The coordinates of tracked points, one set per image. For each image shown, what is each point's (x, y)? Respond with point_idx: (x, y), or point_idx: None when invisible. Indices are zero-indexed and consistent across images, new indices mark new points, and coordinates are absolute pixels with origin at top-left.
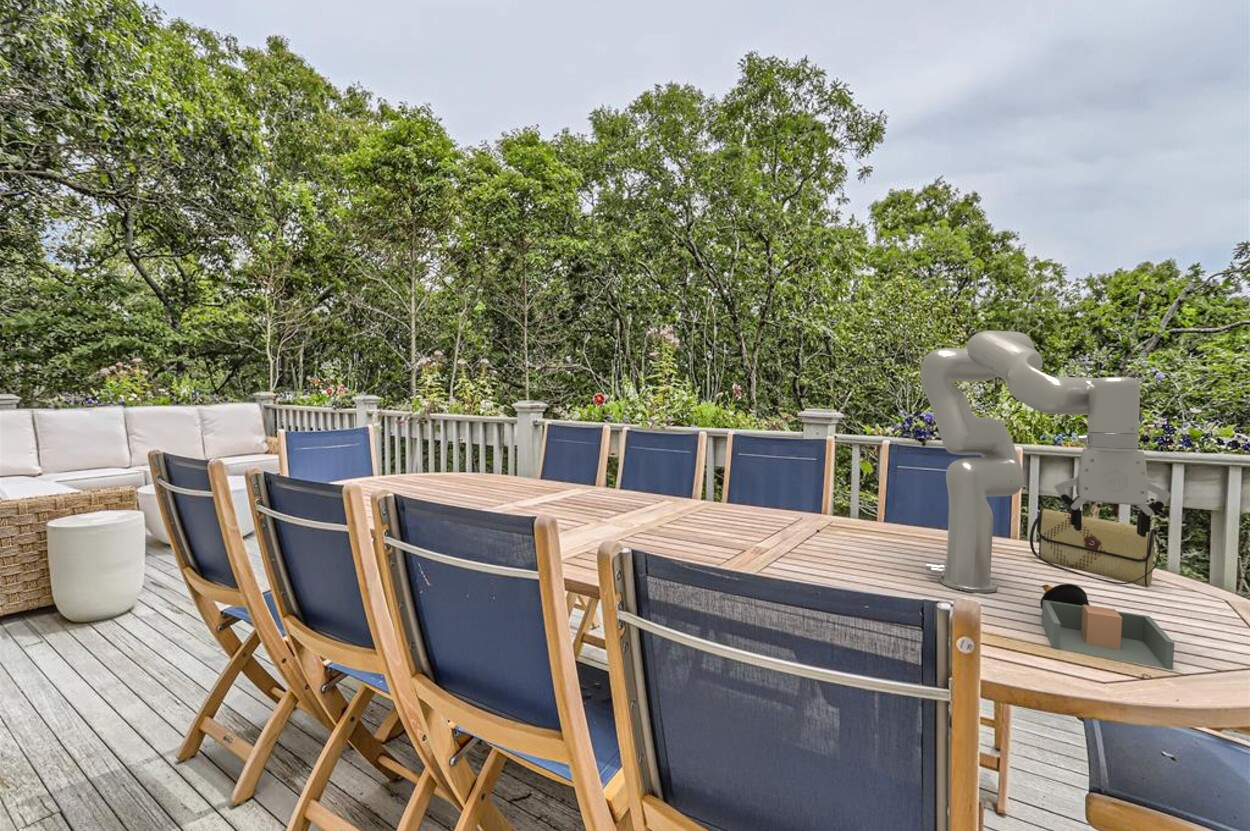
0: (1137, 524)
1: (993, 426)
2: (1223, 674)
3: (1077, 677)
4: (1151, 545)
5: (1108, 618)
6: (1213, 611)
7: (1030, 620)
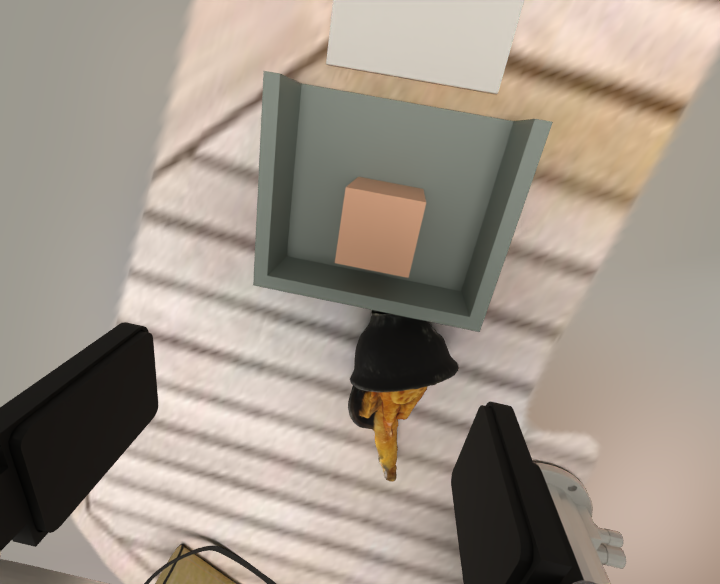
0: (116, 451)
1: None
2: (188, 131)
3: None
4: None
5: (377, 191)
6: None
7: None
